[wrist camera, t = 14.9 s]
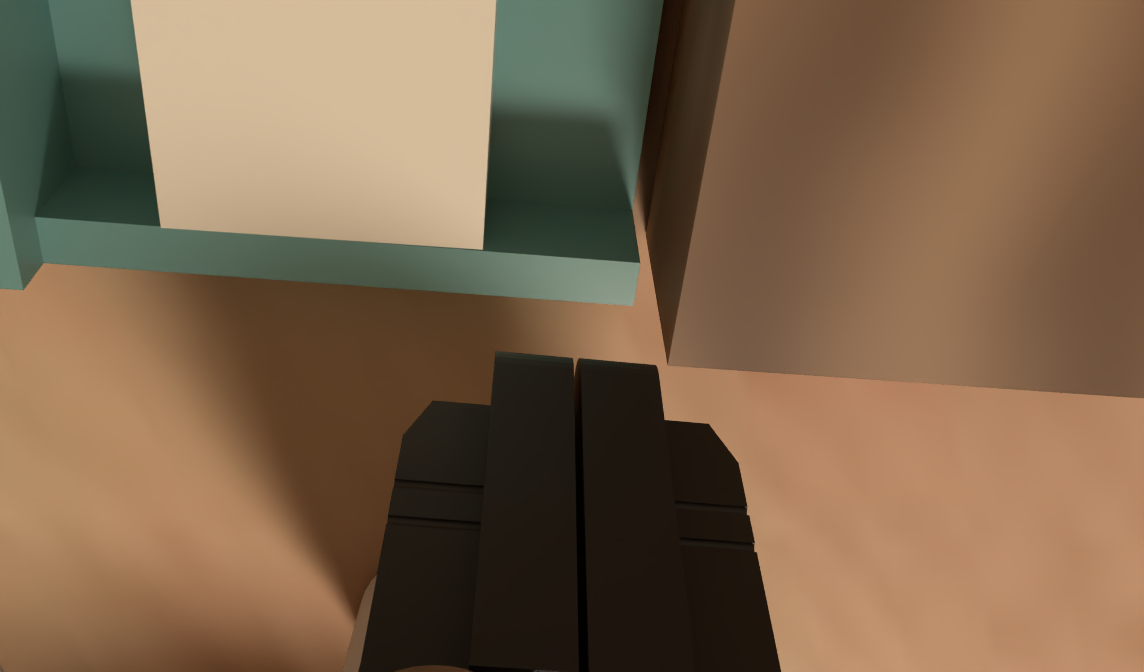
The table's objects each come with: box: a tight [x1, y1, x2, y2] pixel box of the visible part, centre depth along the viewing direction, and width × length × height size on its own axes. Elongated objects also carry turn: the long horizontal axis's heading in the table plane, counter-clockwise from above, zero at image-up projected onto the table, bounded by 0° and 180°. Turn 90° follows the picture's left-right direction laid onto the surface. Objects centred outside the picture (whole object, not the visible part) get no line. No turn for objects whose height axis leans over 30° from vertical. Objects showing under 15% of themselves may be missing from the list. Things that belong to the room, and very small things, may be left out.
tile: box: [131, 0, 498, 250], centre depth 20 cm, size 6×6×2 cm
